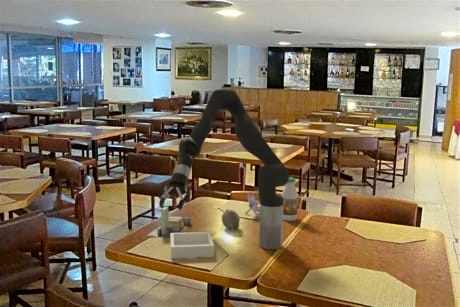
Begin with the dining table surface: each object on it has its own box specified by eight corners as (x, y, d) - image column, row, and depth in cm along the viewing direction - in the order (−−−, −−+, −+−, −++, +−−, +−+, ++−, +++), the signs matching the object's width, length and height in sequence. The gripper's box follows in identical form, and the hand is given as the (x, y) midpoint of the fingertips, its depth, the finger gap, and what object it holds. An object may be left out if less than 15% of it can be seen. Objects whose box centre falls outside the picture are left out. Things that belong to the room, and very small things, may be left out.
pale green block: (165, 231, 204) (165, 206, 202) (168, 231, 204) (168, 207, 202) (161, 234, 200) (161, 209, 199) (164, 234, 200) (164, 209, 198)
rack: (166, 223, 218) (166, 215, 217) (191, 226, 215) (191, 218, 214) (146, 237, 199) (146, 228, 198) (173, 240, 196) (173, 231, 195)
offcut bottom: (167, 224, 213) (167, 220, 213) (183, 226, 211) (183, 222, 211) (161, 228, 208) (161, 224, 207) (178, 230, 206) (178, 226, 205)
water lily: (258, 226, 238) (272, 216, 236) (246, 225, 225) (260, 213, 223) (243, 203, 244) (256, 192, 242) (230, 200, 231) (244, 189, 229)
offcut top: (166, 220, 213) (166, 216, 212) (182, 222, 211) (182, 217, 211) (162, 224, 207) (162, 220, 207) (178, 225, 206) (178, 221, 205)
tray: (214, 257, 179) (214, 245, 178) (171, 258, 177) (171, 247, 176) (209, 242, 194) (209, 231, 194) (170, 243, 192) (170, 233, 191)
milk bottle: (277, 217, 230) (279, 177, 227) (291, 215, 234) (292, 175, 230) (286, 222, 223) (287, 180, 220) (300, 220, 227) (301, 179, 223)
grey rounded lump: (237, 236, 210) (241, 218, 205) (218, 232, 210) (222, 214, 205) (239, 223, 218) (242, 206, 213) (220, 220, 218) (224, 202, 213)
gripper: (163, 170, 213) (152, 201, 205) (192, 173, 209) (182, 205, 200) (168, 180, 219) (157, 210, 210) (197, 182, 215) (187, 213, 206)
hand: (169, 207), depth 205 cm, fingers open, 8 cm apart
